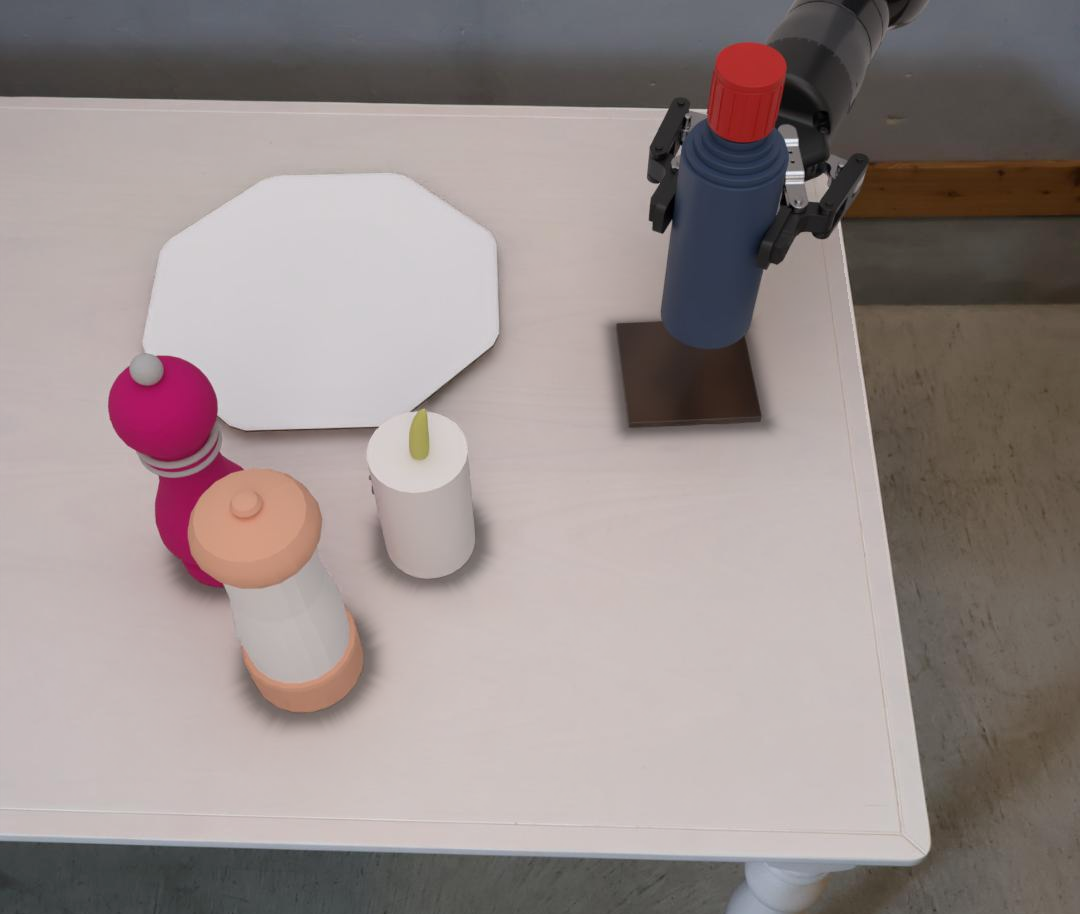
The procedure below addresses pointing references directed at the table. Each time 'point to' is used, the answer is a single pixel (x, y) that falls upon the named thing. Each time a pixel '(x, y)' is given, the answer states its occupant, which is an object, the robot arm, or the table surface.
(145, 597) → the table surface
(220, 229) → the plate
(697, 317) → the bottle
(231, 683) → the table surface
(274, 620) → the pepper shaker
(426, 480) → the candle
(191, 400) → the pepper mill
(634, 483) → the table surface
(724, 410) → the coaster
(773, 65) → the cap
